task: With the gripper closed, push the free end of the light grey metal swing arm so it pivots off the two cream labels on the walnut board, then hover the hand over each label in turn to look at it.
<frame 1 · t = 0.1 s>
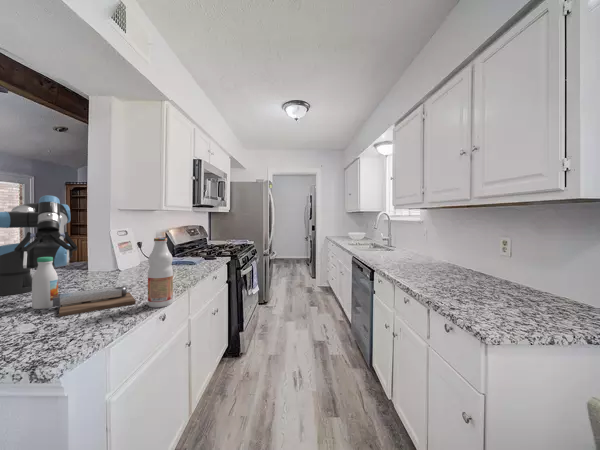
hand: (47, 265, 116), 15 cm above the counter, tool tilted 35°, fingers open, 13 cm apart
swing arm: (92, 295, 113), point 4 cm above the counter, hinge at 0.0°
label board: (98, 304, 112), on the counter
milk bottle: (45, 307, 109), on the counter
fruit juice: (160, 304, 113), on the counter
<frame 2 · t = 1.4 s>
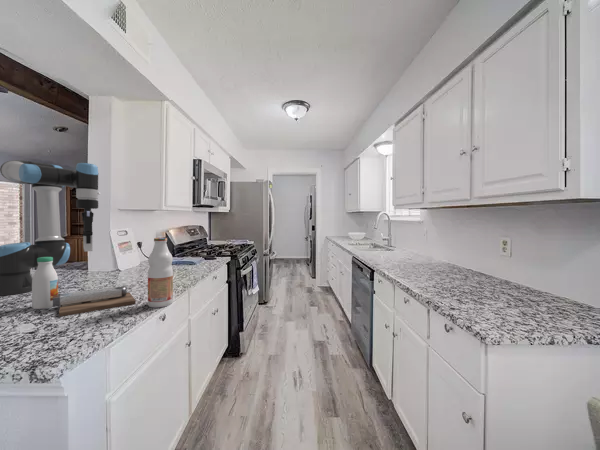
hand: (87, 250, 118), 22 cm above the counter, tool pointing down, fingers open, 10 cm apart
nothing on the counter moved.
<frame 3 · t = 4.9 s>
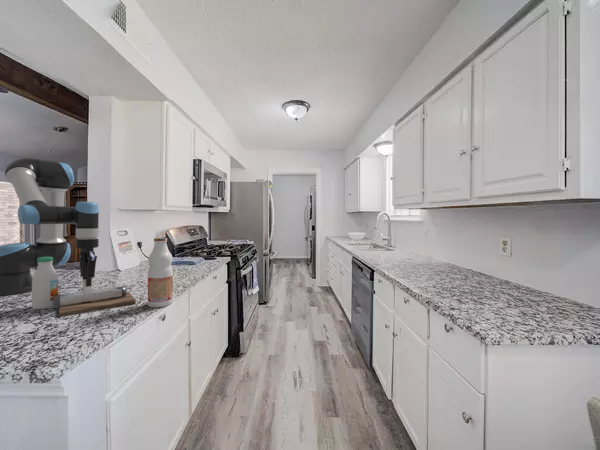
hand: (87, 293, 114), 4 cm above the counter, tool pointing down, fingers closed
swing arm: (92, 295, 112), point 4 cm above the counter, hinge at 1.5°, touching gripper
everything else where it was.
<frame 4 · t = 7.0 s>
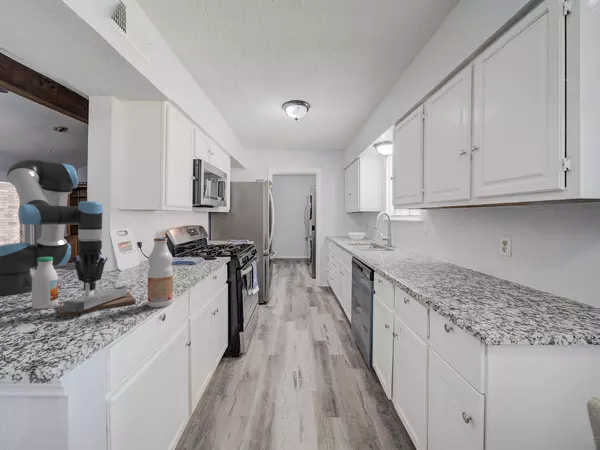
hand: (89, 298, 109), 4 cm above the counter, tool pointing down, fingers closed
swing arm: (100, 297, 109), point 4 cm above the counter, hinge at 40.7°, touching gripper
everything else where it was.
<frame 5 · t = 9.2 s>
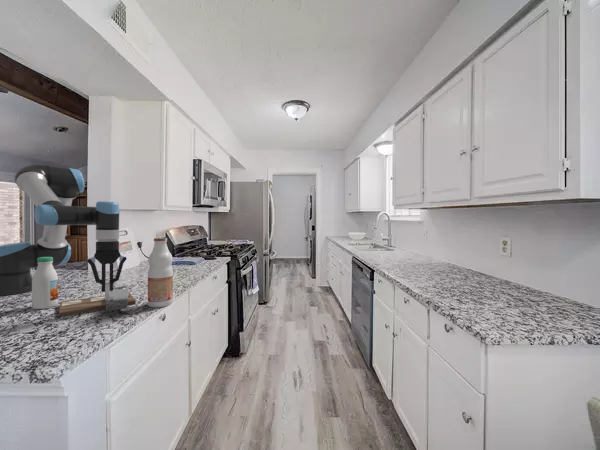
hand: (107, 299, 107), 4 cm above the counter, tool pointing down, fingers closed
swing arm: (119, 296, 110), point 4 cm above the counter, hinge at 80.5°, touching gripper
everything else where it was.
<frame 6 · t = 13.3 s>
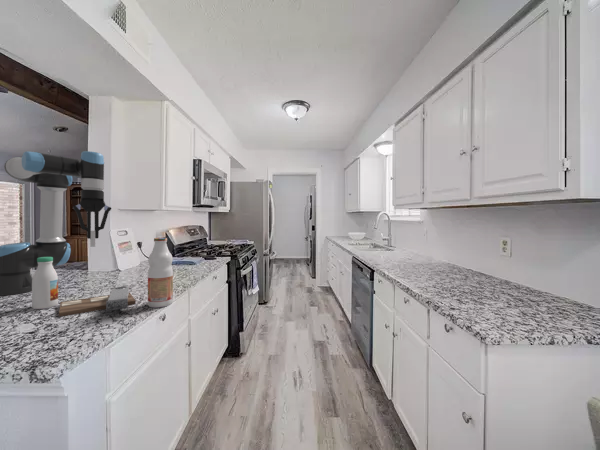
hand: (92, 246, 112), 24 cm above the counter, tool pointing down, fingers closed
swing arm: (119, 296, 110), point 4 cm above the counter, hinge at 80.6°
everything else where it was.
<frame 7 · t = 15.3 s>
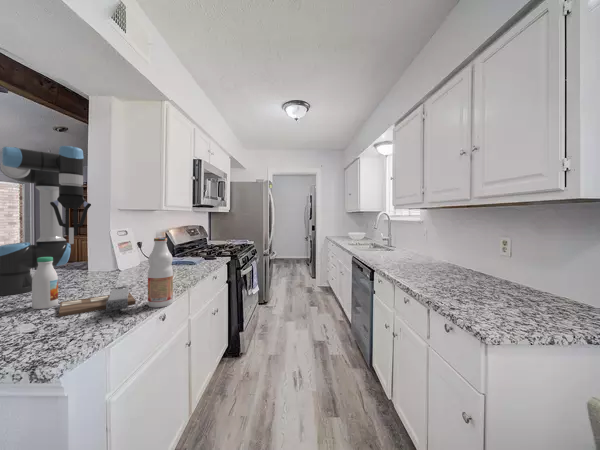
hand: (71, 243, 110), 25 cm above the counter, tool pointing down, fingers closed
nothing on the counter moved.
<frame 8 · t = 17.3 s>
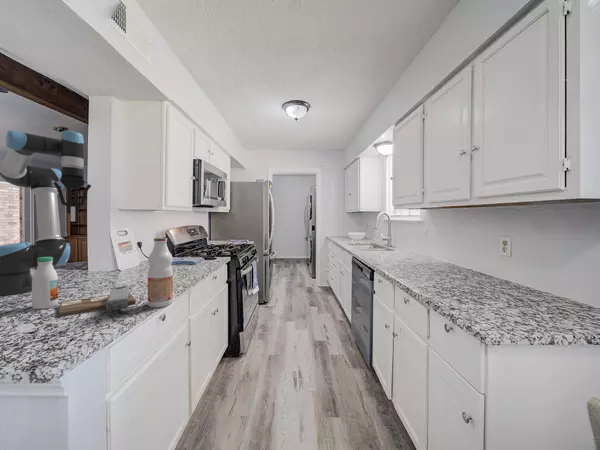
hand: (73, 221, 119), 34 cm above the counter, tool pointing down, fingers closed
nothing on the counter moved.
at the end: swing arm at +81° (first picture: +0°); milk bottle moved 0.2 cm from its start; fruit juice moved 0.2 cm from its start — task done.
